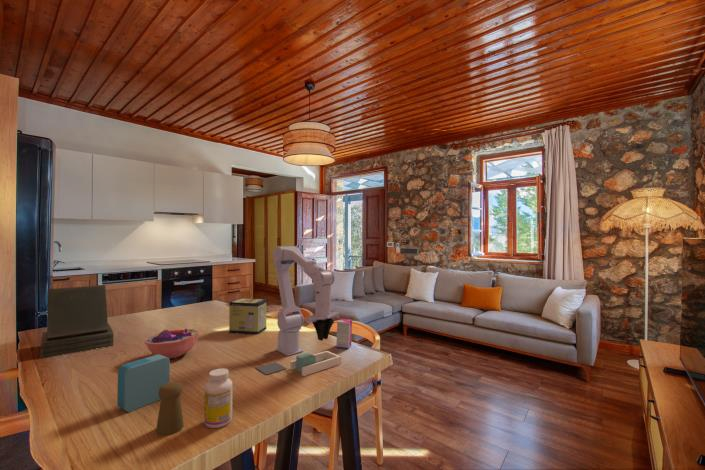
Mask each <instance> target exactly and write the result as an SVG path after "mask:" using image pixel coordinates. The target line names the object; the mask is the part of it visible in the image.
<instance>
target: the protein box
mask: <svg viewBox="0 0 705 470" xmlns="http://www.w3.org/2000/svg"><path fill="white" fill-rule="evenodd" d="M228 309H229V312H228V314H229V316H228V317H229V318H228V320H229V321H228V322H229V325H228V333H229V334H236V333H238V334H239V335H255V334H258V335H259V334H261V333H263V332H264V331H265V330H267V299H265V298H264V299H262V298H261V299H260V298H237V299H234V300H232V301H229V308H228Z"/></svg>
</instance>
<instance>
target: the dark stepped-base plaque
mask: <svg viewBox="0 0 705 470" xmlns="http://www.w3.org/2000/svg"><path fill="white" fill-rule="evenodd" d="M47 293H48V297H47V298H48V299H47V320H46V321H47V323H46V325H47V326H46V331H43V332H42V335H41V340H40V358H41V359H46V358H51V357H57V355H58V356H64V355H69V353H70V354H74V353H75V352H76V353H80V351H81V352H87V351H92V350H91V349H93V350H97V349H96V348H99V349H103V348H102V347H105V348H109V347H108V346H111V347H114V330H113V329H112V326H111V324H110V323H109V322H108V308H107V307H108V306H107V305H108V304H107V289H106V284H103V285H90V286H89V285H88V286H73V287H62V288H61V287H60V288H49V289H48V292H47ZM86 350H87V351H86ZM63 354H64V355H63Z"/></svg>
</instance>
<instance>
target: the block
mask: <svg viewBox="0 0 705 470" xmlns="http://www.w3.org/2000/svg"><path fill="white" fill-rule="evenodd" d="M295 357H296V359H295V360H296V369H295V370H296V371H298V372H300V373H302V367H305V366H308V365H311V364H314V363H317V362H316V356H314V354H311V353H309V352H306V353H301V354H299V355H296V356H295Z"/></svg>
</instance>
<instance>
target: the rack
mask: <svg viewBox="0 0 705 470" xmlns="http://www.w3.org/2000/svg"><path fill="white" fill-rule="evenodd" d="M313 355H314V356H316V363H314V364H311V365H308V366H305V367H302V372H301V376H302V377H307V376H309V375H311V374H315V373H318V372H322V371H324V370H327V369H330V368H333V367H336V366H339V365H342V356H341V355H338V354H336V353H333V352H331V351H329V350H325V351H321V352H318V353H315V354H313ZM289 369H290V370H291V371H293V370H296V359H293V360H290V361H289Z"/></svg>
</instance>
